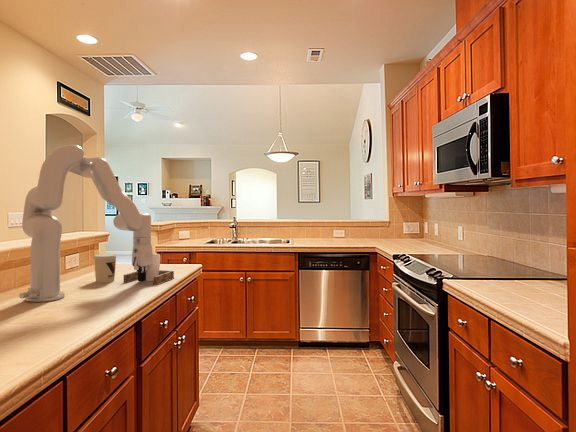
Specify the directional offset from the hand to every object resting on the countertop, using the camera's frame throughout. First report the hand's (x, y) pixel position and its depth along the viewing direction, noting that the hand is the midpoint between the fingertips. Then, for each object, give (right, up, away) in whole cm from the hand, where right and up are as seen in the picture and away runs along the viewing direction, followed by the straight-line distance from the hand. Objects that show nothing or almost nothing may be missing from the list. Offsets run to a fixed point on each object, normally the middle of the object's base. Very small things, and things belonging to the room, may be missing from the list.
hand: (141, 281), depth 180 cm
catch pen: (+1, -1, +6) cm, 6 cm away
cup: (+1, -1, +7) cm, 8 cm away
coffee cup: (-18, -1, +3) cm, 18 cm away
